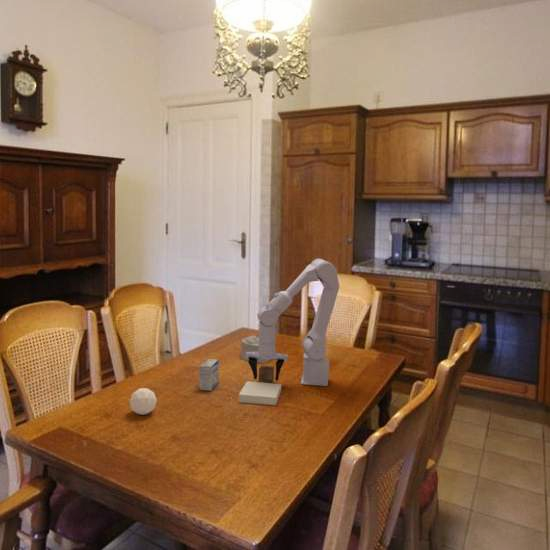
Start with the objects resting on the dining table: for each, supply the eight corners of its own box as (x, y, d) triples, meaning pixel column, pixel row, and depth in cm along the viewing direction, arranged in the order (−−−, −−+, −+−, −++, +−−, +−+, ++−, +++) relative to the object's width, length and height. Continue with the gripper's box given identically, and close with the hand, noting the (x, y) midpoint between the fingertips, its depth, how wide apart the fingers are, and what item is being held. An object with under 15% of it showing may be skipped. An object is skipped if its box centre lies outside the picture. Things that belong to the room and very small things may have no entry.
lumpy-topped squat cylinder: (262, 364, 195) (262, 343, 193) (235, 358, 202) (235, 337, 200) (275, 357, 204) (276, 337, 202) (250, 352, 210) (250, 332, 209)
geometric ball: (139, 424, 147) (123, 408, 143) (140, 405, 154) (125, 389, 150) (161, 413, 146) (145, 397, 142) (161, 394, 153) (147, 378, 149)
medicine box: (211, 391, 167) (211, 366, 165) (199, 390, 167) (199, 365, 166) (218, 383, 174) (218, 359, 173) (206, 381, 175) (206, 358, 174)
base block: (281, 392, 168) (281, 384, 168) (275, 406, 156) (275, 397, 156) (246, 389, 170) (246, 381, 170) (238, 403, 158) (238, 394, 158)
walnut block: (273, 382, 176) (273, 366, 175) (271, 387, 171) (271, 370, 170) (260, 381, 176) (261, 365, 176) (258, 386, 172) (258, 369, 171)
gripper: (244, 343, 169) (243, 381, 171) (286, 346, 167) (285, 384, 169) (248, 338, 176) (247, 374, 178) (288, 340, 173) (287, 377, 176)
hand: (266, 379), depth 174 cm, fingers open, 7 cm apart
